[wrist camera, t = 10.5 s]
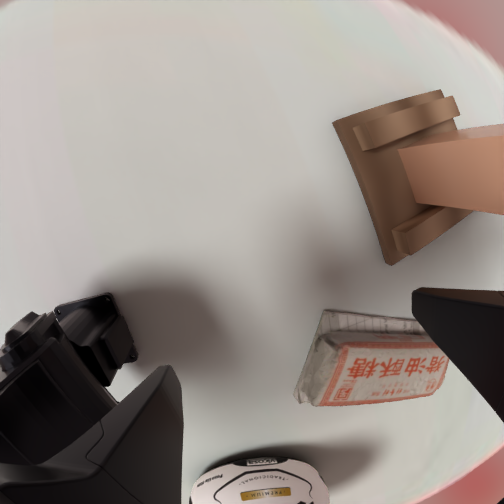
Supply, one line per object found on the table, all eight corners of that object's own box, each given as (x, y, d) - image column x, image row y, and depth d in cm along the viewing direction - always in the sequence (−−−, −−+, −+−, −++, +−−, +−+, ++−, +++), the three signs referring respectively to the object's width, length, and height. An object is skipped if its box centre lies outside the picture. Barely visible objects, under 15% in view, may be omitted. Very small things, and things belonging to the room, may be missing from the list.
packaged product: (301, 426, 21) (342, 330, 19) (289, 394, 25) (320, 306, 24) (434, 409, 24) (472, 336, 22) (414, 389, 28) (446, 320, 27)
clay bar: (416, 202, 21) (540, 222, 9) (397, 149, 20) (525, 134, 8) (447, 183, 21) (558, 193, 9) (431, 134, 20) (544, 120, 8)
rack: (385, 263, 23) (404, 271, 20) (332, 122, 20) (348, 114, 17) (471, 204, 23) (490, 207, 21) (434, 91, 20) (453, 85, 17)
